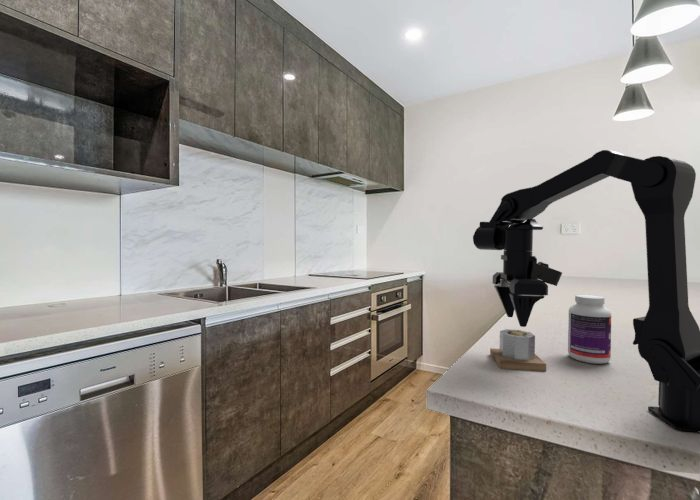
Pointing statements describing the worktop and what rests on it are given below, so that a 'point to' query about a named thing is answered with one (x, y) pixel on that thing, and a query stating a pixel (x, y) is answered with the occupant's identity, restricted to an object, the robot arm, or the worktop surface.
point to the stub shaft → (514, 364)
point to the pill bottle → (589, 330)
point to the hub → (517, 345)
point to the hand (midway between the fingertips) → (516, 321)
